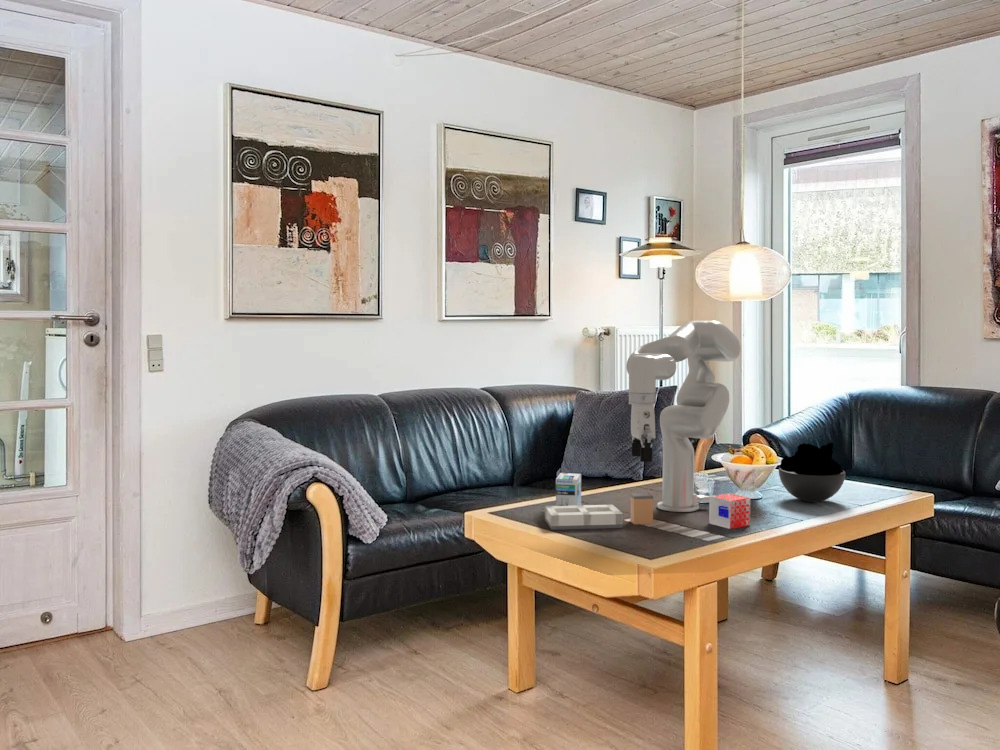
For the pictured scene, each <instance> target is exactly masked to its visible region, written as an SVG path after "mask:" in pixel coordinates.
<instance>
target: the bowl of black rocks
mask: <svg viewBox="0 0 1000 750" xmlns="http://www.w3.org/2000/svg"><path fill="white" fill-rule="evenodd" d="M796 447H797V448H796V449H797V451H795V453H794V455H792V456H788V455H785V456H784V457H783V458H782V459H781V460H780V466H779V468H778V475H779V480H780V483H781V484H782V486H783V488H784V489H785V490H786V491H787V492H788V493H789V494H790V495H791V496H793V497H794V498H796V499H798V500H801V501H803V502H808V503H818V502H823V501H826V500H828V499H830V498H832V497H833V496H835V495H836V494H837V493H838V492H839V491H840V489H841V488H842V487H843V485H844V481H845V478H846V471H845V470H843V468H842V465H841V464H839V463H838V462H837V461H835V459H833V457H832V456H833V453H834V452H833V451H834V450H833V449H834V442H827V444H825V445H821V446H820V448H819V447H818V446H816V445H813V444H810V443H805V442H804V443H800V444H799V445H798V446H796Z"/></svg>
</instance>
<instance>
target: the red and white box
mask: <svg viewBox="0 0 1000 750" xmlns="http://www.w3.org/2000/svg"><path fill="white" fill-rule="evenodd" d="M708 496H709V495H708ZM708 504H709V508H708V509H709V512H708V514H709V515H708V523H709V524H710V525H713V526H714V525H715V526H718V527H722V528H724V529H728V530H732V529H737V528H738V529H739V528H742V527H743V528H744V527H749V526H751V497H747V496H743V495H739V494H736V493H735V494H734V493H730V492H729V493H728V492H727V493H721V494H714V495H710V496H709V502H708Z"/></svg>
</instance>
